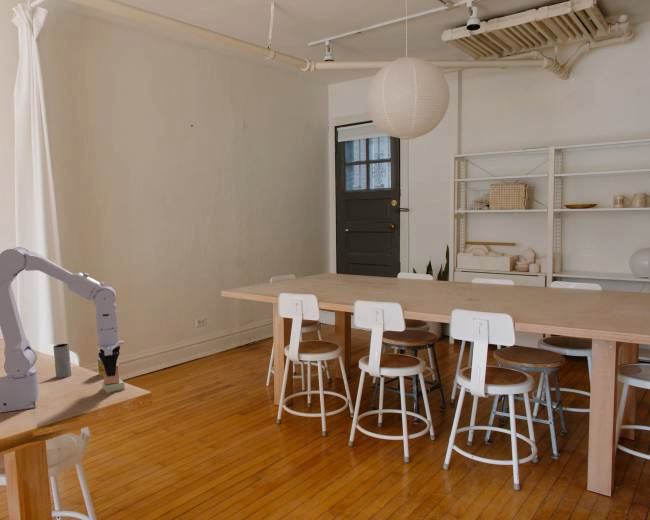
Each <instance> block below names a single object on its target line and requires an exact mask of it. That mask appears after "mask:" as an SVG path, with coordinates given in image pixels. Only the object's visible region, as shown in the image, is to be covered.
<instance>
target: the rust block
mask: <svg viewBox="0 0 650 520" xmlns="http://www.w3.org/2000/svg"><path fill="white" fill-rule="evenodd" d="M103 369H104V376H103V382H104V384H111V383H119V379H121V378H120V364H119V362H118V361H117V363H116V373H115V376H109V377H107V375H106V371H105V368H104V367H103Z"/></svg>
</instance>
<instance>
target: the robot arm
mask: <svg viewBox="0 0 650 520" xmlns="http://www.w3.org/2000/svg"><path fill="white" fill-rule="evenodd" d="M22 271H25V272H29V271H38V272H42V273H43V274H46V275H47V276H50V277H52V278H54V279H56V280H58V281H60V282H63V283H65V284H66V285H67V288H68V290H69V291H70V292H72V293H74V294H76V295H78V296H81V297H82V298H85V299H86V300H87V301H93V304H94V306H95V307H96V308H95V310H96V313H95V318H96V333H97V348H98V349H100V352H101V353H99V352H98V356H99V358H100V359H101V360H102V362H103V365H104V368H105V371H106V375H107V377H109V376H115V373H116V363H117V362H118V358H119V356H120V353H121V352H120V349H121V345H124V343H125V341H124V340H120V331H119V320H118V319H119V317H118V310H117V307H118V306H117V304H116V300H117V292H116V290H115V289H114V287H112V286H111V285H109V284H107V285H106V284H105V282H103V281H101V282H99V281H98V280H96V279H94V278H92V277H90V274H89V273H87V272H84V273H82V272H80V271H79V272H77V273H73V272H71V271H69V270H67V269H66V268H65V267H62V266H61V265H59V264H58V263H55V262H53V261H52V260H49V259H48V258H47V257H44V256H42V255H40V254H38V253H37V252H34V251H31V250H28V249H26V248H25V247H22V246H21V247H20V246H19V247H18V246H17V247H13V248H8V249H6V250H3V251H1V252H0V331H1V334H2V338H3V341H4V353H3V354H4V357H5V359H4V363H3V369H4V371H5V373H6V376H5V375H4V376H0V413H6V412H7V413H8V412H13V411H19V410H20V411H21V410H26V409H27V410H28V409H34V408H37V407H36V406H37V405H36V402H37V401H39V399H40V392H39V390H40V389H39V381H38V371H37V368H35V366H34V365H35V364H36V362H37V360H38V355H37V352H36V351H35V350H34V349H33V348H32V346H31V344H30V341H29V340H28V339H27V337H26V335H25V332H24V327H23V324H22V321H21V317H20V312H19V309H18V305H17V301H16V297H15V294H14V291H13V290H14V289H13V287H12V283H13V281H14V280H15V279H16V277H17V276H19V275H18V274H20V273H21V272H22Z"/></svg>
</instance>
